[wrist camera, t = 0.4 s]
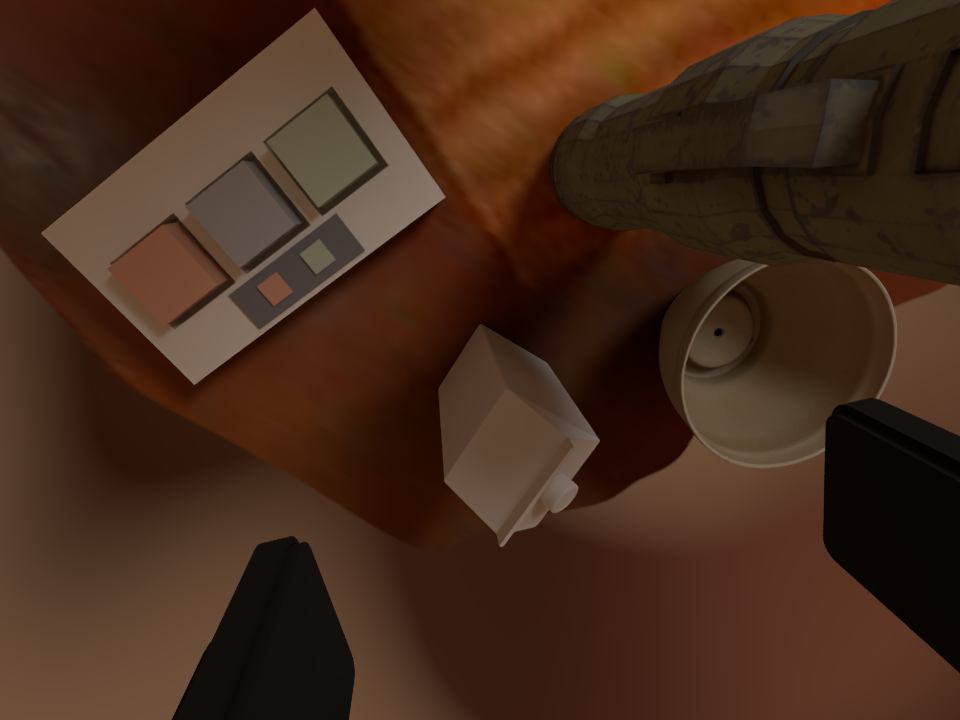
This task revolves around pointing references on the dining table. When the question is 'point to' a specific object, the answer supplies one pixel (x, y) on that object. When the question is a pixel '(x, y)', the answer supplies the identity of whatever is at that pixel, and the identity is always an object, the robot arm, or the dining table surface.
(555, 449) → the milk carton
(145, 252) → the terracotta key
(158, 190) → the keypad
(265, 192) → the grey key
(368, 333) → the dining table surface
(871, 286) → the planter bowl
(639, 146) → the thermos
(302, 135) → the sage key
